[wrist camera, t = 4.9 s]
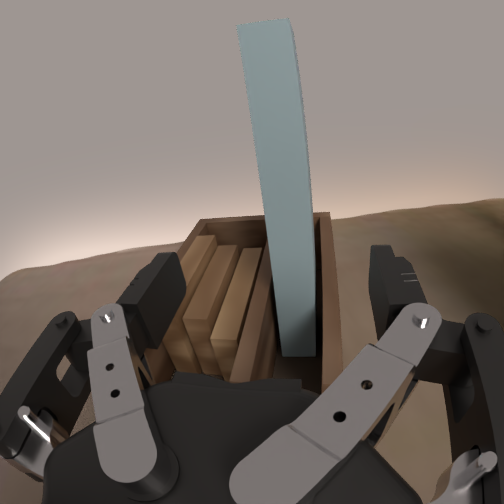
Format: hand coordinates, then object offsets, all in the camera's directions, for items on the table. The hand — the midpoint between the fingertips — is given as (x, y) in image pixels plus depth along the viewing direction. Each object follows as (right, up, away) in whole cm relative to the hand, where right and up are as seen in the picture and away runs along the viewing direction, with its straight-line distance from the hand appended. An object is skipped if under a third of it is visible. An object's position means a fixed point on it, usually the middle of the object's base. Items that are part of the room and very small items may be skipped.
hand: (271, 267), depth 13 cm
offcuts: (-3, -7, +18) cm, 20 cm away
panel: (+4, -7, +17) cm, 19 cm away
